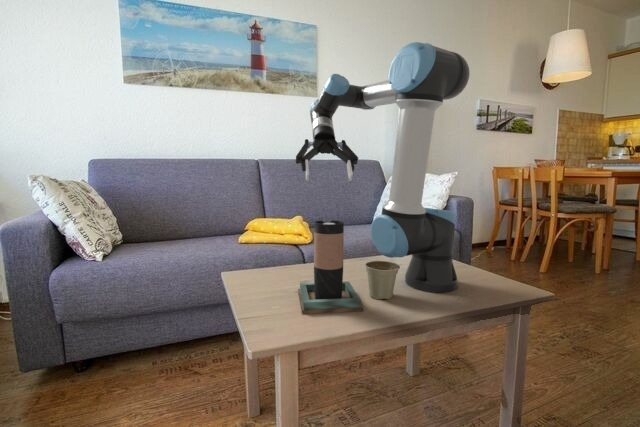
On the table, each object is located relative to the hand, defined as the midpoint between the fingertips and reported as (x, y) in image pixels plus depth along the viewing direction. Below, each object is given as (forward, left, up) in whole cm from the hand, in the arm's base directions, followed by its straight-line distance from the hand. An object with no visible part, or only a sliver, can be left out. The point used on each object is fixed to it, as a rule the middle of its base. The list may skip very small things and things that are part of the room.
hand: (329, 177), depth 105 cm
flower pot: (-12, +18, -32) cm, 38 cm away
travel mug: (+3, +20, -31) cm, 37 cm away
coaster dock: (+3, +20, -32) cm, 37 cm away
